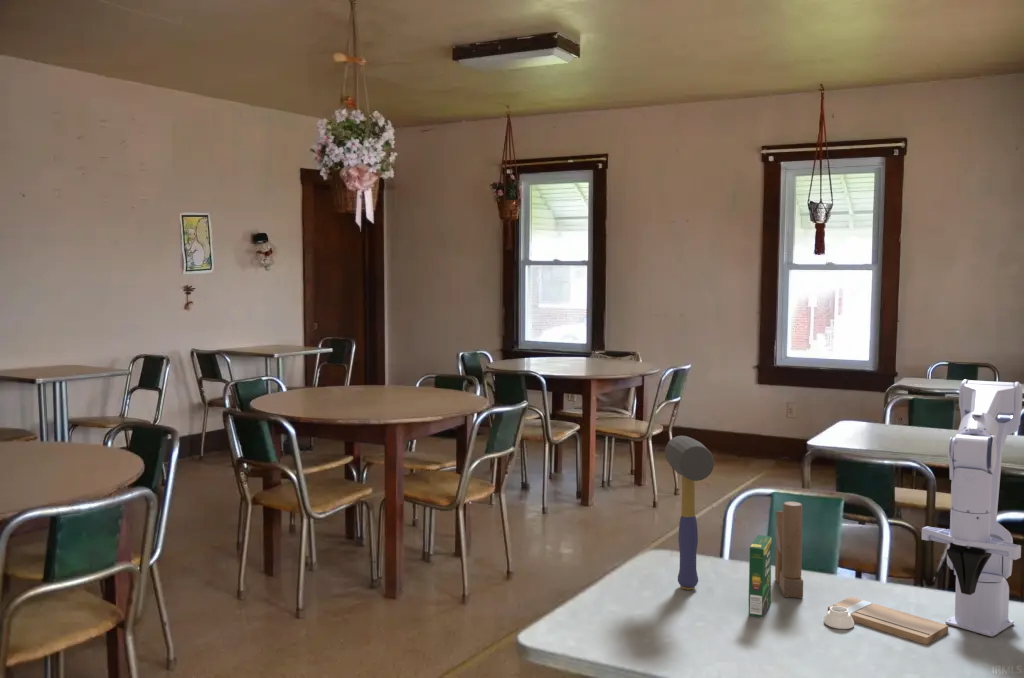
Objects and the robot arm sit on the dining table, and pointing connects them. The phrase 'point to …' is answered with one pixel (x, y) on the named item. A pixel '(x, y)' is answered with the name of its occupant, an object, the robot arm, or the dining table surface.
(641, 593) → the dining table surface
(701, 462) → the rubber mallet
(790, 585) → the wooden block
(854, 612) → the board
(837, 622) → the lidless jar
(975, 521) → the robot arm
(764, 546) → the coffee box
